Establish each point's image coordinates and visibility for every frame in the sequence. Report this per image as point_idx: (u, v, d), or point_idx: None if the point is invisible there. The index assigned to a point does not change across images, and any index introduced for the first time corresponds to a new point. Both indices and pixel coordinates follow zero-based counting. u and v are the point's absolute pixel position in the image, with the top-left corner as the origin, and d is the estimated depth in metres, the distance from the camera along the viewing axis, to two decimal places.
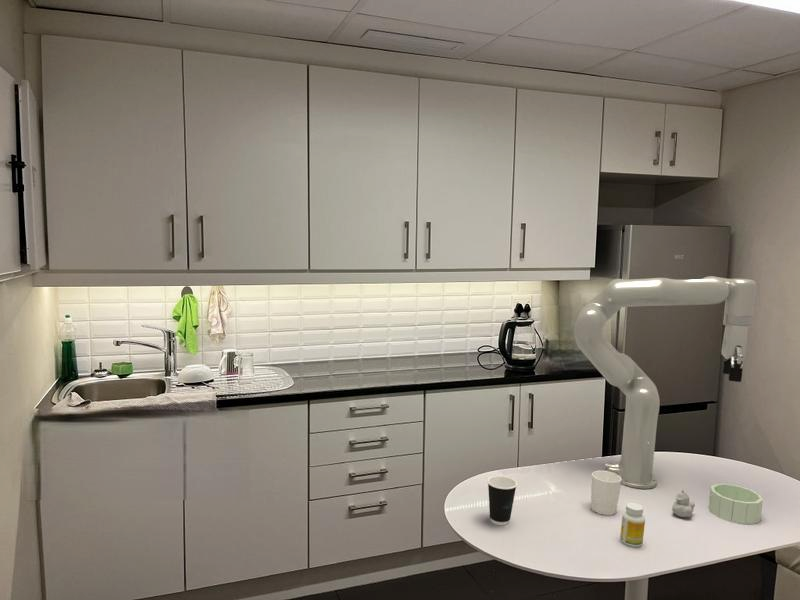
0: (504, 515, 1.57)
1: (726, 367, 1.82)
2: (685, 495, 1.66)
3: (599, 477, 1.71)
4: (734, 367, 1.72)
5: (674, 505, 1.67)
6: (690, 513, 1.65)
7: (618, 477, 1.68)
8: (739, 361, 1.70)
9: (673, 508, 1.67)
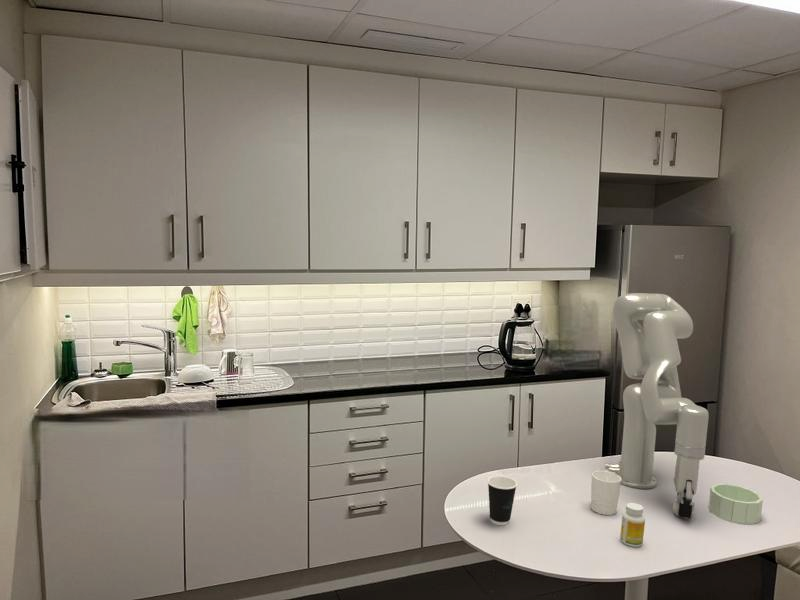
0: (504, 515, 1.57)
1: None
2: (685, 495, 1.66)
3: (599, 477, 1.71)
4: (683, 503, 1.63)
5: (674, 505, 1.67)
6: None
7: (618, 477, 1.68)
8: (688, 500, 1.61)
9: (673, 508, 1.67)
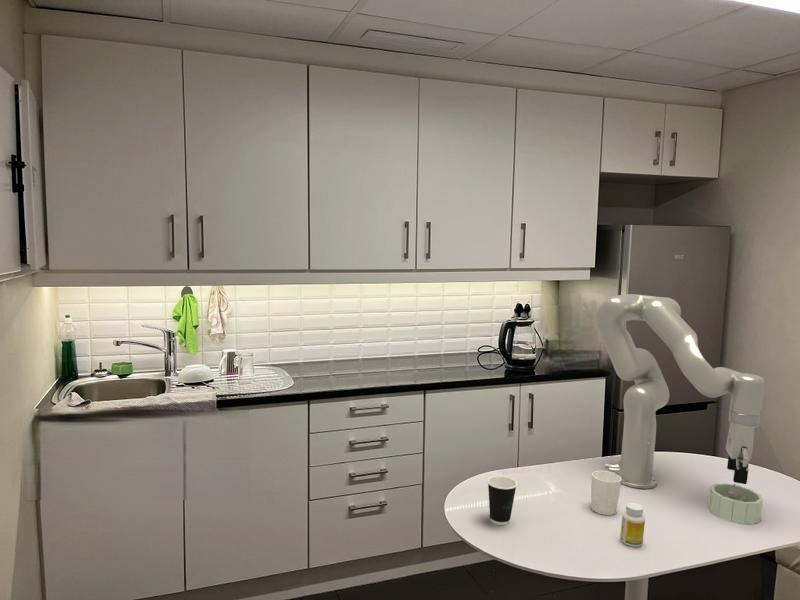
0: (504, 515, 1.57)
1: (731, 463, 1.74)
2: (737, 489, 1.68)
3: (599, 477, 1.71)
4: (739, 469, 1.63)
5: None
6: None
7: (618, 477, 1.68)
8: (745, 464, 1.61)
9: None
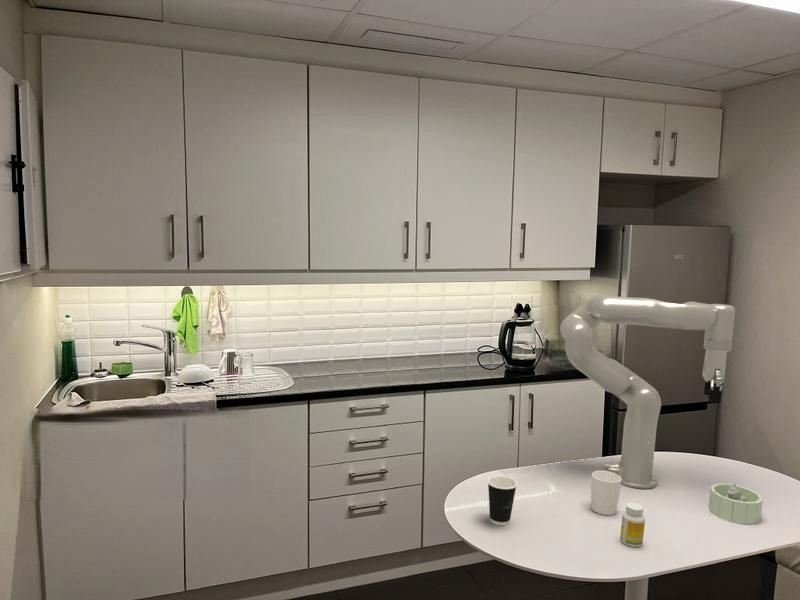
0: (504, 515, 1.57)
1: (707, 388, 1.89)
2: (737, 489, 1.68)
3: (599, 477, 1.71)
4: (713, 389, 1.79)
5: None
6: None
7: (618, 477, 1.68)
8: (718, 384, 1.77)
9: None
